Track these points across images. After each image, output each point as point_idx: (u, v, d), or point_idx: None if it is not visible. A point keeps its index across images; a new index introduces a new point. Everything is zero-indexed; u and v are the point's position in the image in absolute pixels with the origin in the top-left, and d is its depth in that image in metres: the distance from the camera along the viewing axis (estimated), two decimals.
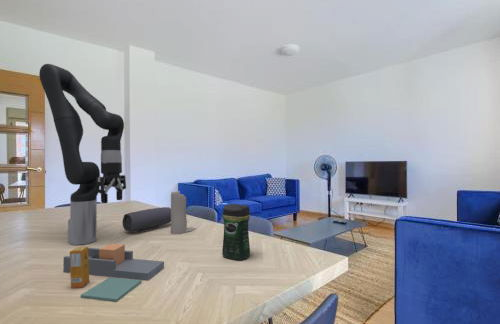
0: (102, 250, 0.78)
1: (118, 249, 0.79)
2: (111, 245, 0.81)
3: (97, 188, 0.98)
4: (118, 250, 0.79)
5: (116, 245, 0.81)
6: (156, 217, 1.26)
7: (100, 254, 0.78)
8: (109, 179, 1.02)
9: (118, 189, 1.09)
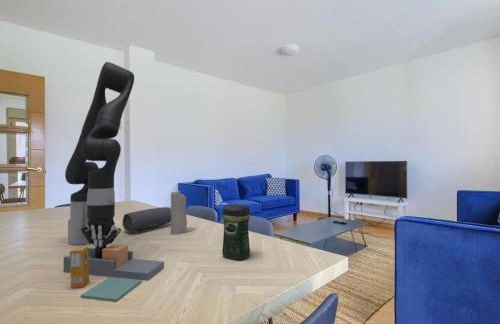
0: (105, 250, 0.78)
1: (121, 249, 0.79)
2: (114, 245, 0.81)
3: None
4: (121, 250, 0.79)
5: (119, 246, 0.81)
6: (156, 217, 1.26)
7: (103, 254, 0.78)
8: None
9: None
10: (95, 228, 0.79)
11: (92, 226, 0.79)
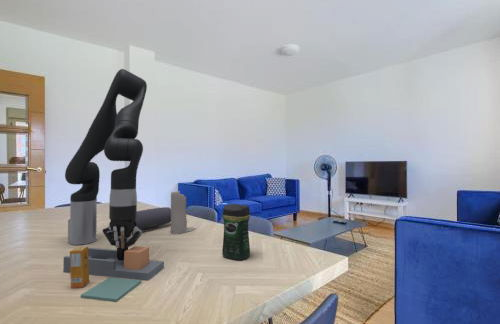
0: (127, 252, 0.76)
1: (143, 251, 0.77)
2: (135, 247, 0.80)
3: None
4: (143, 252, 0.77)
5: (141, 248, 0.79)
6: (156, 217, 1.26)
7: (125, 256, 0.76)
8: None
9: (120, 244, 0.79)
10: (117, 229, 0.78)
11: (115, 227, 0.77)
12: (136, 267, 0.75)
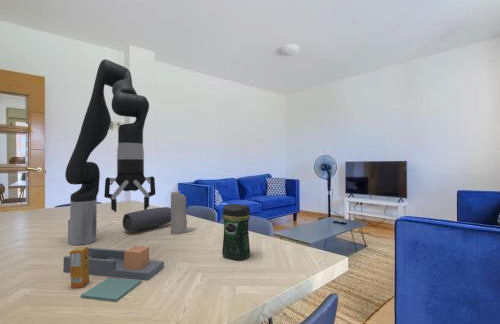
0: (127, 252, 0.76)
1: (143, 251, 0.77)
2: (135, 247, 0.80)
3: None
4: (143, 252, 0.77)
5: (141, 248, 0.79)
6: (156, 217, 1.26)
7: (125, 256, 0.76)
8: None
9: (115, 196, 0.78)
10: (126, 184, 0.78)
11: (126, 182, 0.78)
12: (136, 267, 0.75)
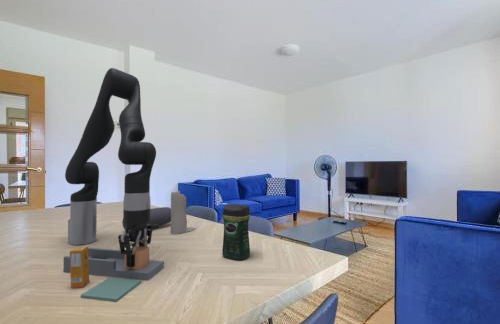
0: None
1: (143, 251, 0.77)
2: (136, 247, 0.80)
3: None
4: (143, 252, 0.77)
5: (141, 248, 0.79)
6: (156, 217, 1.26)
7: (125, 256, 0.76)
8: None
9: None
10: None
11: (140, 232, 0.77)
12: (136, 267, 0.75)
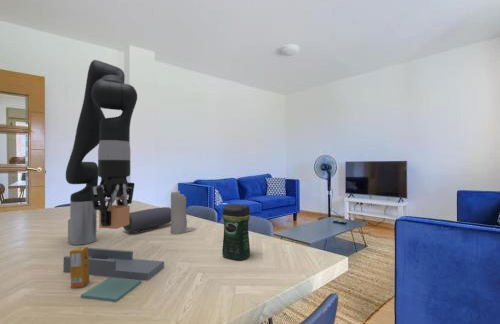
0: None
1: (122, 209, 0.67)
2: (113, 206, 0.69)
3: None
4: (122, 210, 0.67)
5: (119, 206, 0.69)
6: (156, 217, 1.26)
7: (100, 214, 0.65)
8: None
9: None
10: None
11: (117, 186, 0.66)
12: (113, 226, 0.65)
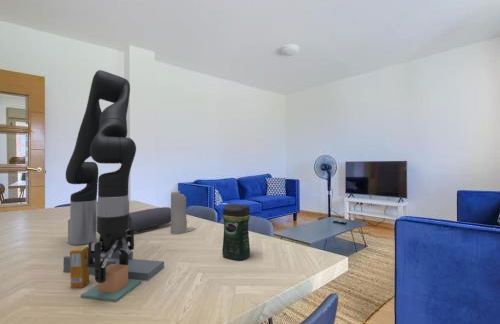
0: None
1: (121, 271, 0.67)
2: (112, 266, 0.69)
3: None
4: (121, 272, 0.67)
5: (118, 266, 0.69)
6: (156, 217, 1.26)
7: None
8: None
9: None
10: None
11: (116, 242, 0.66)
12: (112, 290, 0.65)
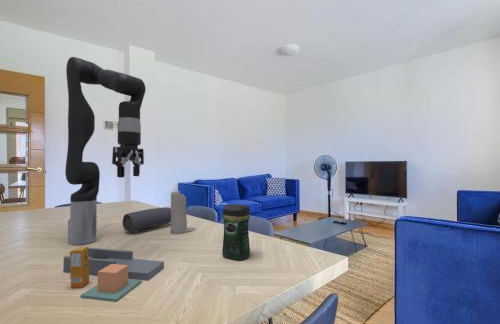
0: (101, 273, 0.65)
1: (121, 271, 0.67)
2: (112, 266, 0.69)
3: None
4: (121, 272, 0.67)
5: (118, 266, 0.69)
6: (156, 217, 1.26)
7: (99, 277, 0.65)
8: None
9: None
10: None
11: (132, 151, 0.91)
12: (112, 290, 0.65)
